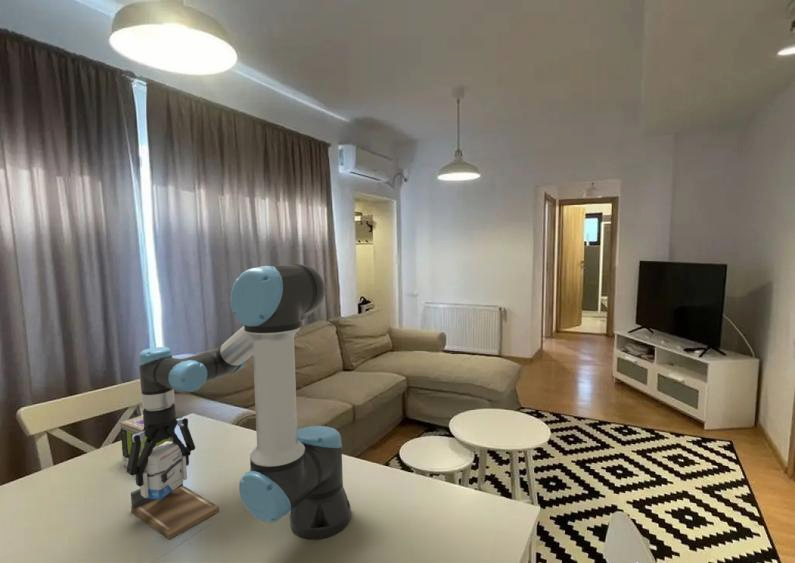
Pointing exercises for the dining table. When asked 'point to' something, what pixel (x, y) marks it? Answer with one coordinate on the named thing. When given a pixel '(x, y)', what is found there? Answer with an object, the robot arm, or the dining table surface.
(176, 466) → the ink box
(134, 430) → the tea box
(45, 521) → the dining table surface
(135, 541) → the dining table surface
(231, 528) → the dining table surface
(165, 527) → the header board
